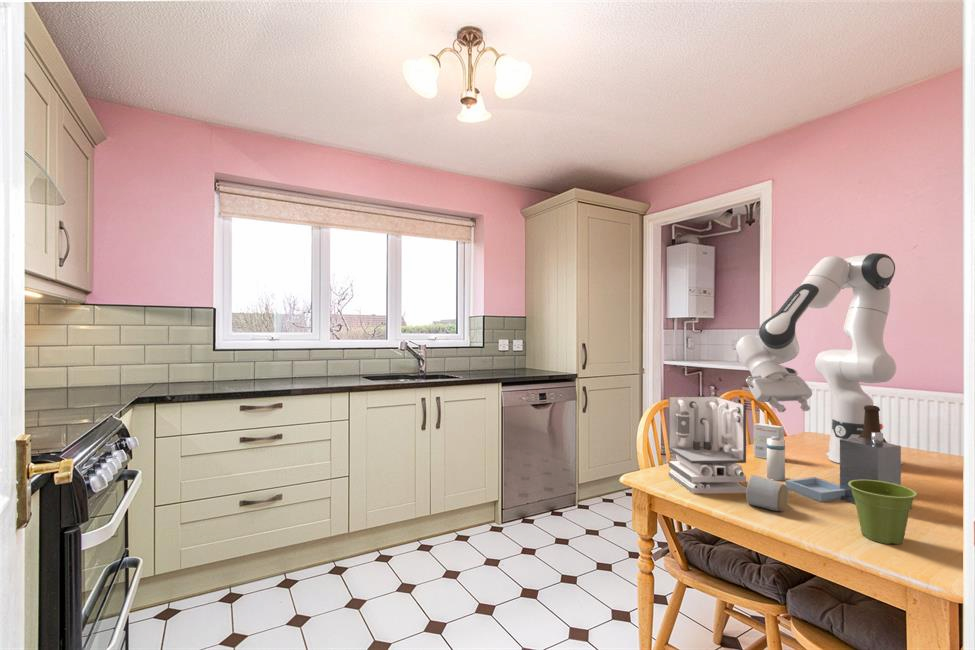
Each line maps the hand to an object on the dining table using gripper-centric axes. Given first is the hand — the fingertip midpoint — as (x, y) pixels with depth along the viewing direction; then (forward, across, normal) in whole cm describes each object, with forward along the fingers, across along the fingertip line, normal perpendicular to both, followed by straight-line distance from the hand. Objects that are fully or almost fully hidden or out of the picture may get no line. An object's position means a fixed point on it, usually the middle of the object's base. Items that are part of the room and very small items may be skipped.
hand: (795, 410), depth 150 cm
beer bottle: (+25, +13, +5) cm, 28 cm away
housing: (+30, +1, -1) cm, 30 cm away
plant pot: (+43, -19, -13) cm, 49 cm away
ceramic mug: (+27, -28, +3) cm, 39 cm away
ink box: (+1, +10, +29) cm, 31 cm away
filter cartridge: (+14, -7, +15) cm, 22 cm away
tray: (+24, -6, +5) cm, 26 cm away
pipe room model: (+14, -32, +16) cm, 38 cm away
